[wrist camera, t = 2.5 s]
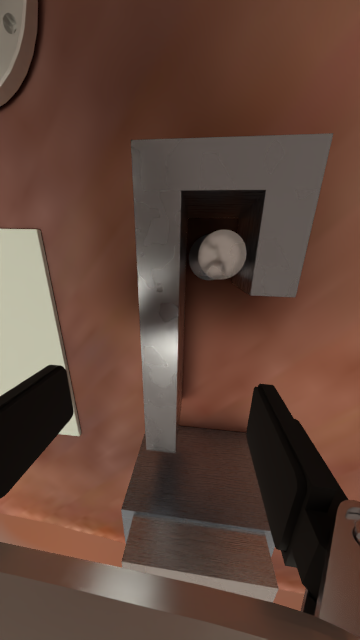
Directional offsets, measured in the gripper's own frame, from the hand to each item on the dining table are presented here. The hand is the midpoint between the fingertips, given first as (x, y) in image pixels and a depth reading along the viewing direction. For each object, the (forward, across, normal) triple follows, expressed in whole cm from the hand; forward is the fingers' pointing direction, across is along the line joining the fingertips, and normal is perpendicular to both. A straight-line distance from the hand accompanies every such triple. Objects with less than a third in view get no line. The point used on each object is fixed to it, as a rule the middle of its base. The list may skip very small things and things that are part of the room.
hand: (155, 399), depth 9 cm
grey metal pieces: (+10, -2, +7) cm, 12 cm away
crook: (+9, -2, -2) cm, 10 cm away
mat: (+9, +20, +3) cm, 22 cm away
